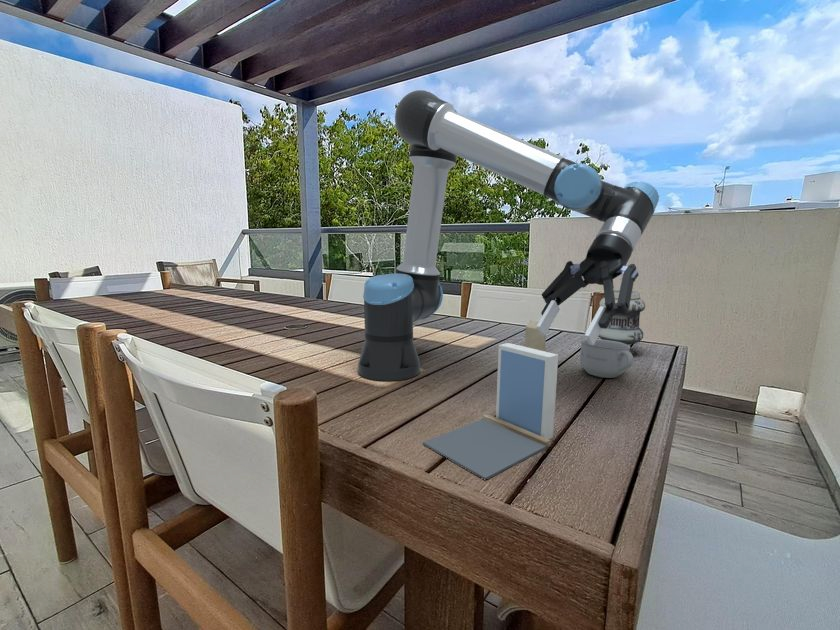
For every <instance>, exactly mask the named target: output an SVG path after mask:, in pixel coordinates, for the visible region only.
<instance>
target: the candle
mask: <svg viewBox="0 0 840 630" xmlns="http://www.w3.org/2000/svg"><path fill="white" fill-rule="evenodd" d="M538 323H539V321H536V320H535V321H533V320H530V321H529V322H528V323H527V324H526V325H525V333H524V334H525V335H524V336H525V337H524V347H528V348H532V349H536V350H541V351H545V352H546V346H547V345H546V344H547V343H546V341H547V334H546V335H541V333H540V331H539V330H538V328H537V327H536V326H537V324H538Z"/></svg>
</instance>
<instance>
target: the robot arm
mask: <svg viewBox="0 0 840 630" xmlns="http://www.w3.org/2000/svg"><path fill="white" fill-rule="evenodd" d="M394 122H395V124H394V125H395V128H396V130H397V133H398V135H399V136H400V137H401V138H402V139H403V141H404V142H405V143H407V144H408V145H410V147H409V156H408V160H409V161H410V163H412V165H413V173H412V184H411V189H410V191H411V193H410V199H409V208H408V216H407V217H408V219H407V225H406V226H407V227H406V234H405V243H404V251H403V261H402V262H401V263H400V264H398V266H396V270H395V273H386V274H377V275H375V276H371V277H369V278H367V279H366V281H365V283H364V289H363V296H362V297H363V307H364V308H363V310H364V313H363V314H364V343H363V347H362V350H361V353H360V356H359V360H358V363H357V369H358V370H357V371H358V372H357V373H358V375H360V376H361V377H362V378H365V379H368V380H371V381H373V380H374V381H380V382H381V381H383V382H384V381H385V382H392V381H402V380H407V379H411V378H414V377H416V376H418V375H419V374H420V373H421V361H420V358H419V354H418V352H417V349H416V346H415V342H414V323H415V322H417V321H420V320H424V319H428V318H429V317H431V316H432V315H433V314H435V313H436V312H437V311H438V310H439V308H440V306H441V305H442V304H443V303H442V302H443V297H444V292H443V288H442V286H441V284H440V275H441V272H440V271H439V269H438V268H437V266H436V263H437V256H438V249H439V241H440V233H441V228H442V227H441V226H442V219H443V214H444V213H443V212H444V205H445V197H446V188H447V181H448V174H449V171H450V170H451V169H452V168H454V167H455V166H456V163H457V156H458V157H460V158H462V159H464V160H466V161H468V162H470V163H473V164H475V165H477V166H479V167H481V168H483V169H485V170H488V171H489V172H492V173H494V174H497V175H499V176H500V177H503V178H505V179H507V180H509V181H512V182H513V183H516V184H518V185H521V186H522V187H525V188H527V189H529V190H531V191H534V192H536V193H538V194H541V195H542V196H545V197H546V198H548V199H550V200H552V201H554V203H556V204H557V205H559V206H560V207H561V206H562V207H563V208H564V209H566V210H572V211H573V212H576V213H578V214H579V213H580V214H581V215H585V216H587V217H590V218H592V219H595V220H598V221H600V222H602V223H603V224H602V225H601V227H600V229H599V230H598V232H597V234H596V236H595V238H594V240H593V241H592V242H591V245H590V247H589V248H588V250H587V253H586V257H585V258H584V259H583V260H582V261H581V262H580V263H574V262H573V261H572V260H569V261H567V262H566V263H565V266H564V268H563V270H562V271H561V272H560V273H559V274H558V275H557V276H556V277H555V279H553V281H552V282H551V283H550V284H549V286H547V287H546V289H544V291H543V292H542V293H541V297H542V298H543V301H544V303H545V306H544V307H543V309H542V311H541V313H540V314H541V317H540V319H539V321H538V322H539V323H538V324H537V326H536V327H537V328H538V330H539V331H540V333H541V335H546V336H547V333H548V331H549V329H550V328H551V326H552V324H553V322H554V320H555V318H556V317H557V315H558V313H559V312H560V310H561V309H560V305H561V304H563V303H564V302H565V301H566V300H568V299H569V298H570V297H572V296H573V295H574V294H575V293H576V292H578V291H579V290H580V289H581V288H582V289H583V288H586V287H587V286H588V285H595V284H597V285H600V286H603V298H604V297H605V306H606V308H605V307H602V306H600V305H599V308H598V309H597V310H596V313H595V315H594V316H593V318H592V320H591V321H590V322H591V323H590V324H589V326H588V328H587V330H586V332H585V333H584V337H585V339H587V341H588V343H589V344H590V345H594V343H595V341H596V339H599V338H598V337H599V334H600V332H601V330H602V328H604V329H606V328H607V327H608V326H609V324H610V322H611V320H612V318H613V316H614V315H616V314H618V313H621V314H627V313H628V310H629V305H630V299H631V294H632V291H633V288H634V283H635V282H636V280H637V278H638V277H639V271H638V269H637V266H636V264H635V263H631V264H629V265H628V266H627V264H628V262H629V260H630V258H631V256H632V254H633V252H634V250H635V249H636V246H637V245H638V243H639V241H640V239H641V237H642V235H643V233H644V231H645V229H646V228H647V226H648V224H649V223H650V221H651V218H652V217H653V215H654V213H655V210H656V208H657V206H658V203H659V200H660V196H659V193H658V190H657V189H656V188H655V187H654V186H653V185H652V184H650V183H648V182H645V181H632V182H630V183H628V184H627V185H625V186H624V187H622V186H619V185H615V184H612V183H609V182H606V181H604V180H602V178H601V176H600V174H599V172H597V171H596V169H595V168H594V167H592V166H590V165H588V164H585V163H577V162H575V161H573V160H570V159H568V158H565V157H564V156H561V155H560V154H559V155H558V154H556V153H555V152H552V151H550V150H548V149H545V148H542V147H540V146H537V145H535V144H533V143H531V142H528V141H526V140H523V139H521V138H518V137H516V136H514V135H511V134H509V133H506V132H504V131H501V130H500V129H497V128H495V127H493V126H490V125H488V124H485V123H483V122H481V121H478V120H476V119H473V118H471V117H469V116H466V115H465V114H462V113H461V112H460V113H459V112H458V111H457V110H456V109H455V108H454V105H453V104H452V103H450V102H448V101H446V100H443V99H441V98H439V97H438V96H436V95H435V94H434V93H432V92H431V91H427V90H422V89H420V90H413V91H411V92H408V93H407V94H406V95H404V97H403V98H401V100H400V101H399V103H397V107H396V110H395V114H394ZM621 275H622V278H621V284H620V287H619V290H620V292H619V297H618V302H617V303H615V297H614V290H615V289H614V288H615V287H614V279H616V278H617V277H619V276H621Z"/></svg>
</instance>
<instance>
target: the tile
mask: <svg viewBox="0 0 840 630" xmlns="http://www.w3.org/2000/svg"><path fill="white" fill-rule="evenodd" d="M558 365H559V354H557V353H553V352H548V351H546V350H545V351H541V350H536V349H532V348H528V347H525V345H524V346H522V345H520V344H519V345H518V344H514V343H511V342H506V343H502V344H501V343H500V344H498V351H497V376H496V377H497V378H496V400H495V401H496V404H495V406H496V407H495V417H496V418H499V419H501V420H503V421H506V422H508V423H510V424H513V425H515V426H518V427H520V428H522V429H525V430H527V431H530V432H532V433H534V434H537V435H539V436H542V437H544V438H546V439H549V440H551V439H553V438H554V428H555V427H554V425H555V413H556V396H557V383H558V382H557V381H558V380H557V378H558Z"/></svg>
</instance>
